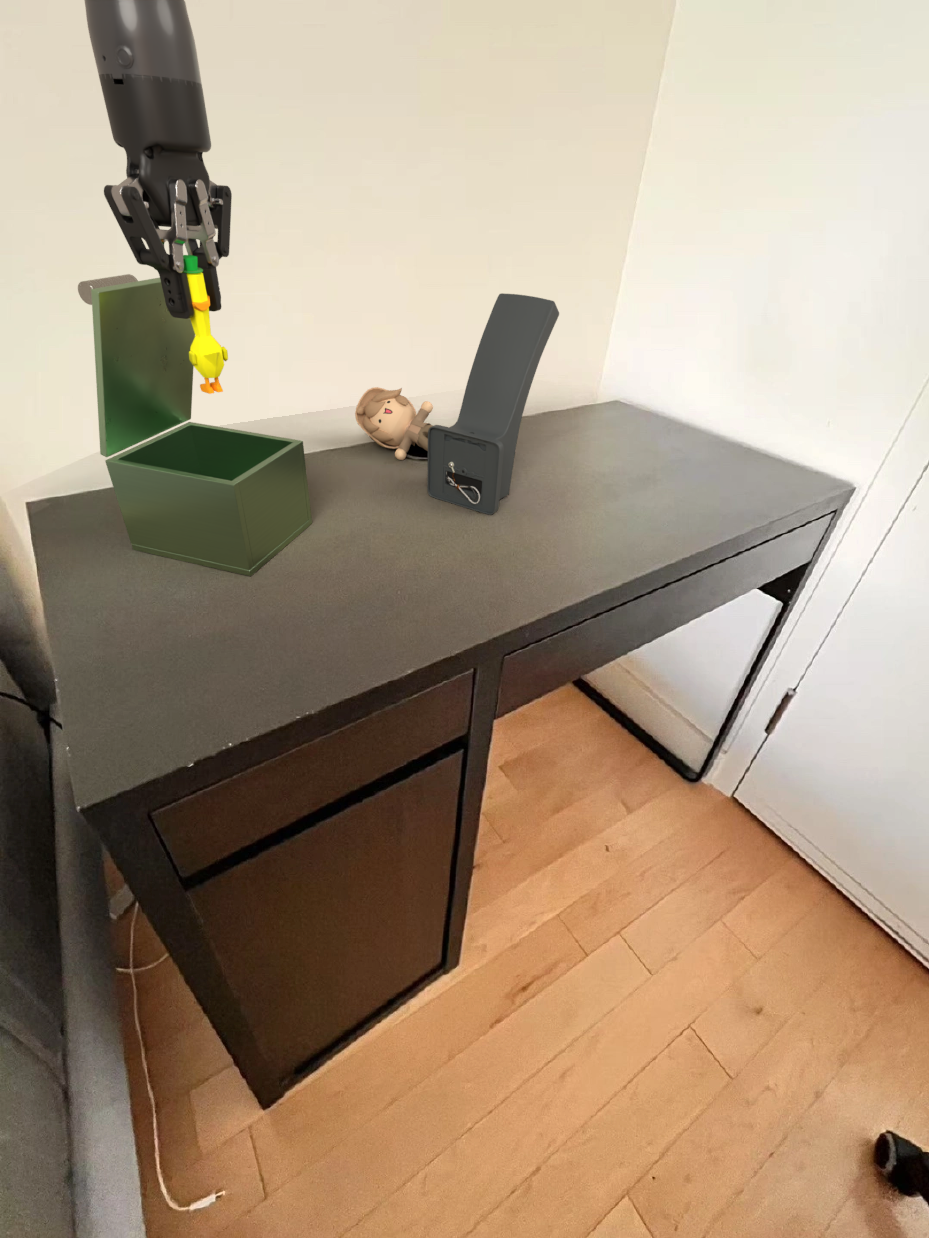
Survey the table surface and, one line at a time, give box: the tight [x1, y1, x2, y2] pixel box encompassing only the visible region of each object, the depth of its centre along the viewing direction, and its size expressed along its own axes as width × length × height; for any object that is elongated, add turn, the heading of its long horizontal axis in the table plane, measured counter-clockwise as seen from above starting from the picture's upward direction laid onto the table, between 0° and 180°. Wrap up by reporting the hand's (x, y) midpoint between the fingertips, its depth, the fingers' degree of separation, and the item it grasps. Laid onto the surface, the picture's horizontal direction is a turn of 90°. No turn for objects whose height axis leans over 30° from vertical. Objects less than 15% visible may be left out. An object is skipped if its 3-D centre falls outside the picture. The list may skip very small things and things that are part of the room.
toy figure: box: [182, 254, 229, 395], centre depth 59 cm, size 7×4×12 cm, turn 42°
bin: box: [104, 421, 313, 577], centre depth 71 cm, size 16×14×11 cm
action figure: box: [354, 386, 434, 461], centre depth 97 cm, size 10×11×15 cm
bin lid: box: [77, 273, 195, 458], centre depth 64 cm, size 17×14×6 cm
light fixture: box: [426, 293, 560, 516], centre depth 83 cm, size 11×17×24 cm, turn 149°
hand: (196, 312), depth 59 cm, fingers closed on toy figure, 3 cm apart
